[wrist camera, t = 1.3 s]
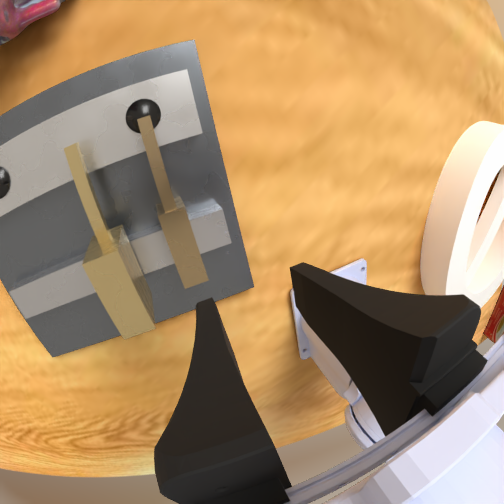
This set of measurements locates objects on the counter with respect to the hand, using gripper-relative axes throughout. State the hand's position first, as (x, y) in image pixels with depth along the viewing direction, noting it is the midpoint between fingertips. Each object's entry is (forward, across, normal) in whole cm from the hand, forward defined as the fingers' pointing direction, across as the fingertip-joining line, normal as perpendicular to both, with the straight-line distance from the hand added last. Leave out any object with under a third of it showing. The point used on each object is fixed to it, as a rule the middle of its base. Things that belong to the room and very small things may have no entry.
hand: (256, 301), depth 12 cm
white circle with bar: (+10, -36, +11) cm, 39 cm away
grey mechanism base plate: (+10, +7, -3) cm, 12 cm away
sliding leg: (+8, +6, -3) cm, 10 cm away
